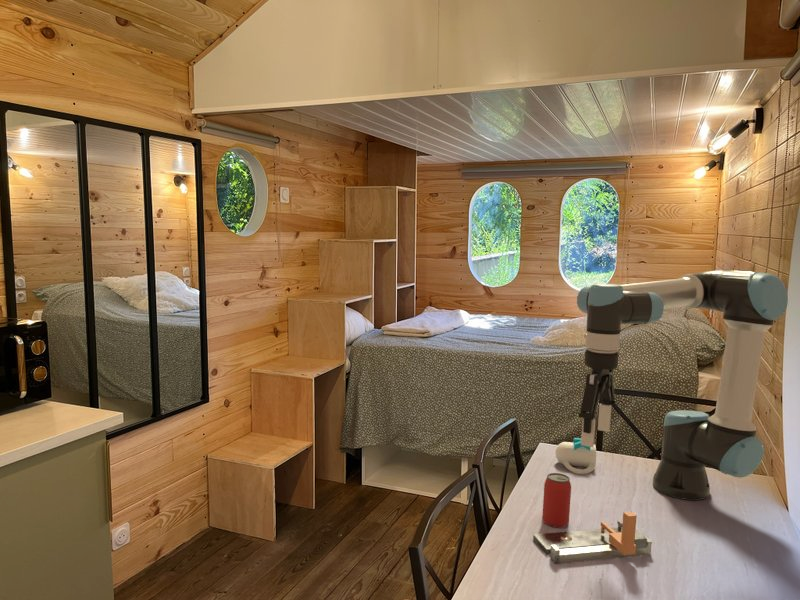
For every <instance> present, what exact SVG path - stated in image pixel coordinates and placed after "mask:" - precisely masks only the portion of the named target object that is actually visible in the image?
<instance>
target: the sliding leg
mask: <svg viewBox="0 0 800 600" xmlns="http://www.w3.org/2000/svg"><path fill="white" fill-rule="evenodd" d="M622 522H623V523H622V533H621V532H620V533H616V532H615V531H614V530H613V529H612V528H613V527H610V526H609V525H608V524H607V523H606V522H605V521H601V522H600V527H601V528H600V529H601V533H603V534H604V532H605V529H606V530H607V531H608V532H609V542H610V543H611V544H612V545H613V546H614V547H615V548H616V549H617V550H618V551H620V552H621V553H622V554H623V555H630V554H636V545H635V544H634V542H635V530H637V529H636V526H637V515H636V514H635V513H634V512H632V511H625V512H623V513H622Z"/></svg>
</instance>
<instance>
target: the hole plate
mask: <svg viewBox="0 0 800 600" xmlns="http://www.w3.org/2000/svg"><path fill="white" fill-rule="evenodd" d="M611 528H612V529H613V530H614V531H615V532H616V533H620V532H618V526H617V527H611ZM621 533H622V527H621ZM532 539H533V541H534V542H535V543H536V544H537V545H538V547H539V548H540V549H541V550H542V551H543V552H544V553H545V554H546V555H550V552H551V545H556V546H557V547H558V548H559V549H568V548H579V547H590V546H601V545H612V544H611V543H610V542H609V532H608V531H607V530H606V529H605V532H604V534H603V533H601V528H594V529H593V528H592V529H583V530H582V529H581V530H569V531H559V532H558V531H557V532H547V533H534V534H533V538H532Z"/></svg>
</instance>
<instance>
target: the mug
mask: <svg viewBox="0 0 800 600" xmlns="http://www.w3.org/2000/svg"><path fill="white" fill-rule="evenodd" d="M555 458H556V459H557V462H558V463H559V464H561V465H564V467H565V468H566V469H567V470H569V471H570V472H571V473H575V474H577V475H578V474H579V475H585V474H586V475H587V474H589V473H592V471H594V470H595V468H596V465H597V448H596V444H594V447H588V446H584V445H581V437H574V438H573V442H569V441H562V442H560V443H558V444H557V446H556V448H555ZM576 467H584V469H579V468H576Z"/></svg>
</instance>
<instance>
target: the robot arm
mask: <svg viewBox="0 0 800 600" xmlns="http://www.w3.org/2000/svg"><path fill="white" fill-rule="evenodd" d="M788 296H789V295H788V290H787V287H786V285H785V284H784V282H783V280H782V279H781V278H780V277H778V276H777V275H775V274H771V273H766V272H761V271H743V270H731V269H714V270H706V271H700V272H694V273H686V274H683V275H681V276H679V278H674V279H673V278H672V279H664V280H656V281H655V280H654V281H646V282H637V283H636V282H634V283H627V284H616V283H615V284H614V283H594V284H592V285H586V286H584V287H582V288H581V289H580V290H579V292H578V293H577V296H576V304H577V305H576V306H577V308H578V309H579V311H580V312H582V313H584V314H587V315H586V317H587V318H586V333H585V334H584V335H583V337H584V338H585V348H586V349H585V350H584V357H583V358H584V360H583V361H584V362H583V364H584V365H585V366H586V367H589V368H591V373H590V374H589V373H588V374H586V378H585V387H584V393H583V396H582V401H581V402H582V403H581V406H580V407H581V408H580V412H579V413H578V418H581V419H582V421H581V424H582V425H581V435H580V436H581V437H580V438H581V445H584V446H588V447H594V445H595V434H596V433H595V432H596V418H595V416H596V411H597V407H598V420H597V423H598V424H597V431H601V432H607V433H610V431H611V417H612V416H611V415H612V406H616V400H615V387H614V370H615V369H617V368H618V366H619V353H618V351H619V350H620V342H621V330H622V329H621V327H622V325H636V324H637V325H638V324H639V325H640V324H641V325H642V324H643V325H647V324H652V323H655V322H658V321H659V320H661V318H662V316H663V315H664V310H665V309H669V308H677V307H683V308H685V309H689V310H690V309H704V310H709V311H716V312H720V313H723V317H722V321H723V322H724V323H725V324H726V325H727V332H726V333H727V334H726V338H725V346H724V352H723V358H722V364H721V365H722V366H721V371H720V372H721V373H720V378H719V386H718V392H717V398H716V405H715V411H714V413H713V414H712V415H710V414H709V413H706V412H703V411H696V410H686V409H685V410H683V409H681V410H680V409H678V410H671V411H669V412H667V413H665V415H664V421H663V427H662V428H663V429H662V443H661V456H660V458H661V459H660V462H659V463H658V466H657V468H656V471H655V473H654V475H653V476H652V487H653V488H655V490H657V491H658V492H660V493H662V494H664V495H667V496H670V497H674V498H678V499H681V500H690V501H692V500H693V501H697V500H698V501H699V500H705V499H707V498H709V497H710V492H711V484H710V483H709V478H708V474H707V471H706V467H708V468H712V469H714V470H716V471H718V472H721V474H724V475H729V476H732V477H734V478H739V479H740V478H745V477H748V476H750V475H752V473H754V472H755V471H756V470H757V469H758V467H759V466H760V464H761V463H762V461H763V458H764V453H765V446H764V444H763V441H762V440H761V439H760V438H758V437H756V435H757V427H756V425H755V423H753V421H752V417H753V411H754V404H755V399H756V398H755V397H756V390H757V386H758V385H757V384H758V378H759V372H760V365H761V358H762V354H763V347H764V340H765V335H766V332H767V331H768V330H770V329H771V328H772V327H773V325H774V322H775V320H779V319H780V318H781V317H782V316H784V313H785V312H786V310H787V307H788V305H789V304H788V303H789V298H788ZM599 401H600V403H599ZM598 404H599V405H598Z"/></svg>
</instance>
